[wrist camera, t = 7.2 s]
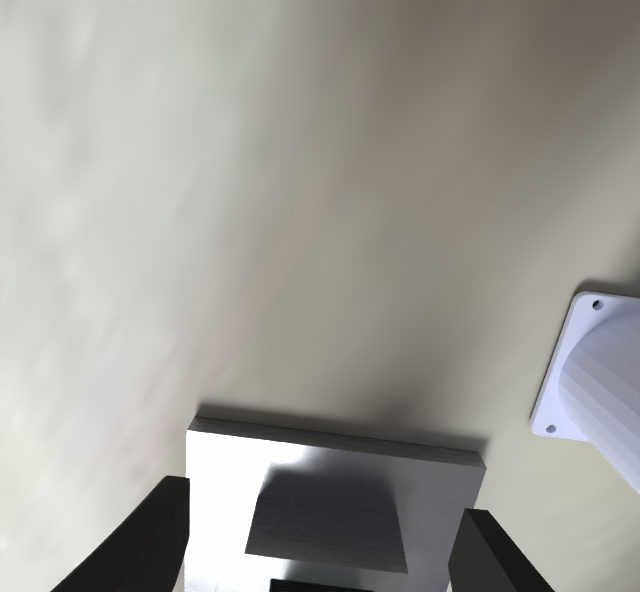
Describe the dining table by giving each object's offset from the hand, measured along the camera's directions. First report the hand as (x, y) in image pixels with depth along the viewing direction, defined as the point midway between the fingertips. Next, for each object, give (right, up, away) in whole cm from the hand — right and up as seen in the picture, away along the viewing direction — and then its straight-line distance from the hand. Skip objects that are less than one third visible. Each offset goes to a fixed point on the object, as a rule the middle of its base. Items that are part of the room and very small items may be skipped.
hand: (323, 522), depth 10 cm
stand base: (0, -9, +14) cm, 17 cm away
